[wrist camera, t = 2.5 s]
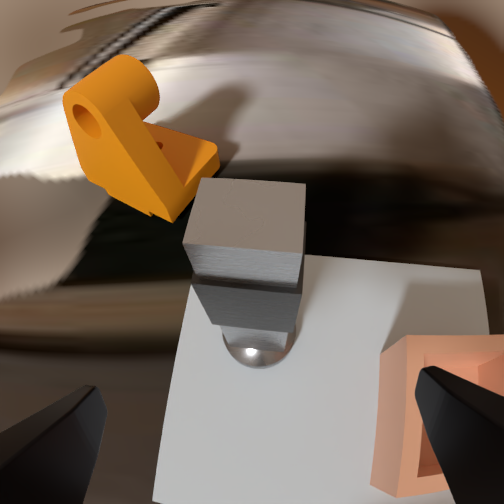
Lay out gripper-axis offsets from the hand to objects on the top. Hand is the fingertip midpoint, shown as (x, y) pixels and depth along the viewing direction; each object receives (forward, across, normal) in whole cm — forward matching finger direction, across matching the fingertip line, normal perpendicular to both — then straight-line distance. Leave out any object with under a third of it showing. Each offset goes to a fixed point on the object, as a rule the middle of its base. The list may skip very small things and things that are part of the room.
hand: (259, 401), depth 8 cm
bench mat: (+9, -5, +8) cm, 13 cm away
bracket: (+22, +9, -5) cm, 25 cm away
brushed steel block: (+11, 0, +4) cm, 12 cm away
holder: (+6, -11, +9) cm, 16 cm away
